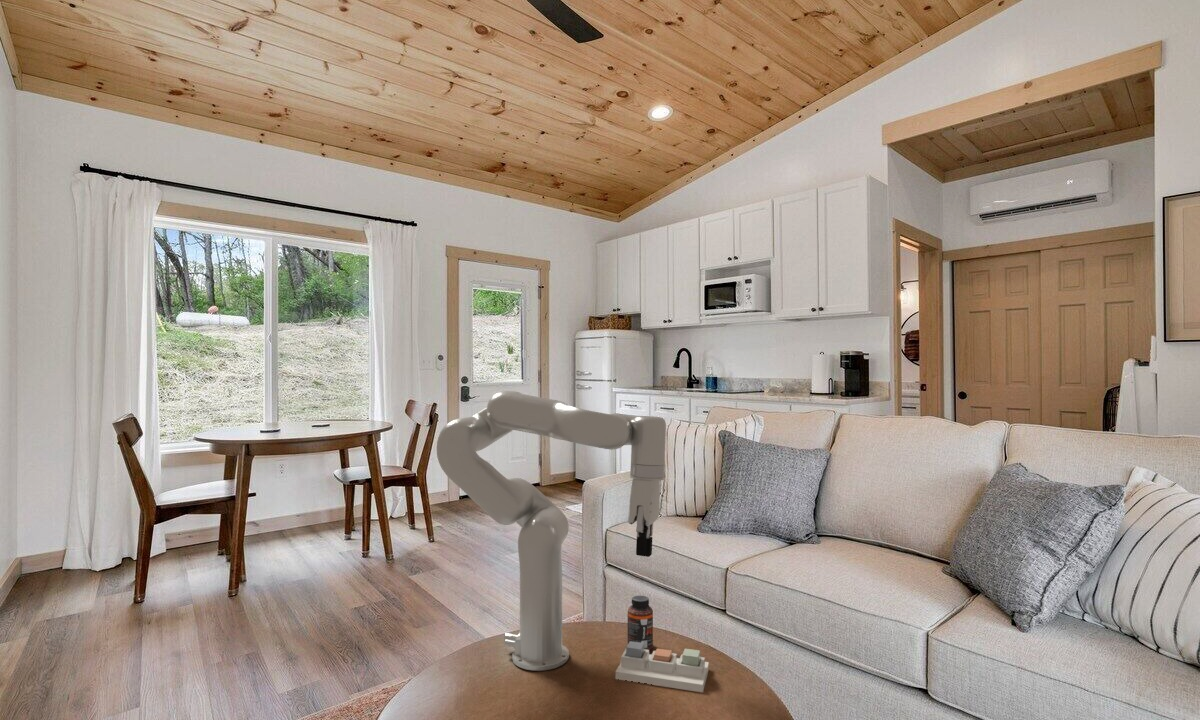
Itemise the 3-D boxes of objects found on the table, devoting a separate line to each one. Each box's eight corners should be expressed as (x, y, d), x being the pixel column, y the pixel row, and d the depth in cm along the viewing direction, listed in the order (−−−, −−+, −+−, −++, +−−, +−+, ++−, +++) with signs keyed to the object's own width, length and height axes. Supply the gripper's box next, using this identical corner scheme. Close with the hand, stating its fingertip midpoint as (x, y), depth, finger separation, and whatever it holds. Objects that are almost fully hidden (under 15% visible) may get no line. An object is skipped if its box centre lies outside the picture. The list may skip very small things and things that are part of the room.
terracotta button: (653, 666, 120) (653, 654, 121) (656, 659, 124) (656, 648, 124) (669, 668, 120) (668, 656, 120) (671, 661, 123) (671, 650, 123)
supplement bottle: (651, 654, 131) (651, 603, 131) (625, 652, 132) (625, 601, 132) (654, 643, 136) (654, 594, 137) (629, 641, 138) (629, 592, 138)
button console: (615, 679, 119) (615, 661, 120) (627, 657, 129) (627, 641, 129) (702, 692, 114) (702, 674, 114) (708, 669, 124) (708, 652, 124)
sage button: (682, 667, 119) (682, 655, 119) (684, 660, 122) (684, 648, 122) (698, 669, 118) (697, 657, 118) (700, 662, 121) (699, 650, 121)
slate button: (626, 658, 122) (626, 647, 122) (629, 652, 125) (629, 641, 125) (640, 661, 121) (640, 649, 122) (644, 654, 124) (644, 643, 125)
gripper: (639, 466, 137) (636, 544, 136) (621, 474, 123) (617, 561, 122) (670, 469, 134) (667, 549, 133) (655, 477, 120) (652, 566, 119)
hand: (643, 554), depth 127 cm, fingers closed
